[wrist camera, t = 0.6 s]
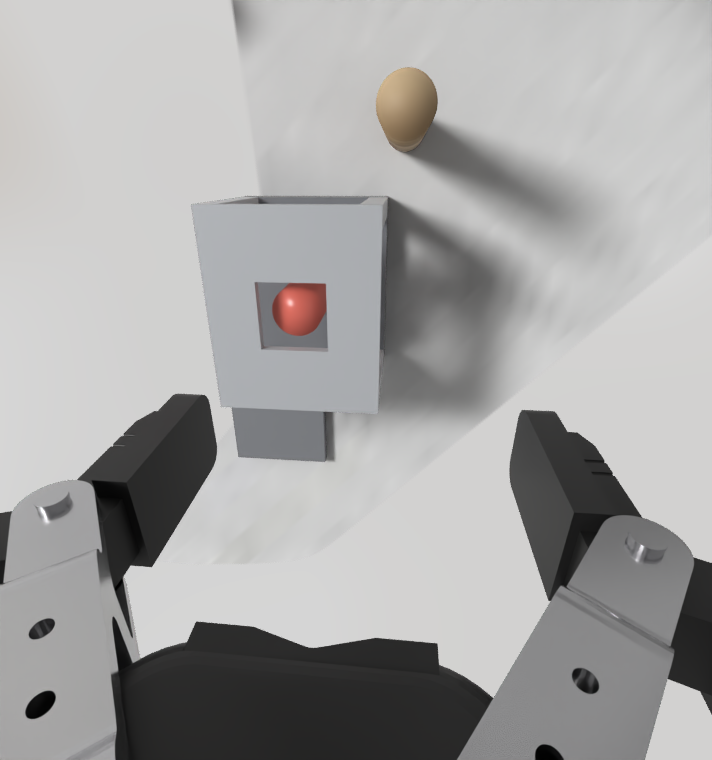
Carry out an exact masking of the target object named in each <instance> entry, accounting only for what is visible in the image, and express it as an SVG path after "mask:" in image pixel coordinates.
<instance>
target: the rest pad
mask: <svg viewBox="0 0 712 760" xmlns="http://www.w3.org/2000/svg"><path fill="white" fill-rule="evenodd" d="M232 412H233V420H234V428H235V435H236V442H237V450H238V457H247V458H265V459H283V460H301V461H319V462H325V461H326V457H327V455H326V428H325V412H323V411H301V410H279V409H257V408H235V407H232Z"/></svg>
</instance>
